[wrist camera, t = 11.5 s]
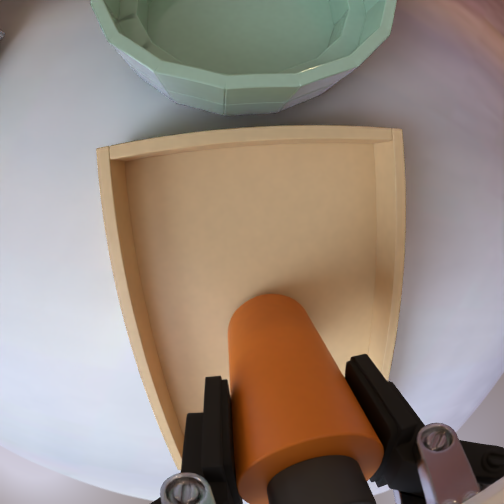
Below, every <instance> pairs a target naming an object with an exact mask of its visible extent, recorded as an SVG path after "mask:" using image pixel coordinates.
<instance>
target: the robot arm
mask: <svg viewBox="0 0 504 504" xmlns="http://www.w3.org/2000/svg"><path fill="white" fill-rule="evenodd" d="M345 380H346V381H347V383H348V385H349V386H350V388H351V390H352V392H353V394H354V395H355V397H356V399H357V401H358V402H359V404H360V406H361V408H362V409H363V411H364V413H365V415H366V416H367V418H368V420H369V422H370V424H371V425H372V427H373V429H374V431H375V432H376V434H377V436H378V438H379V440H380V441H381V443H382V445H383V448H384V456H383V459H382V462H381V464H380V467H379V468H378V470H377V471H376V472H375V473H374V475H373V476H372V477H371V478H370V481H371V482H374V481H375V482H376V484H377V486H378V487H381V486H384V485H387V484H388V486H389V488H390V489H393V492H394V497H395V502H396V504H504V448H503V447H499V446H493V445H486V444H479V443H473V442H467V441H461V440H459V439H458V437H457V434H456V433H455V431H454V430H453V429H452V428H451V427H450V426H448V425H446V424H443V423H431V424H428V425H426V426H425V425H424V424H423V422H422V421H421V420H420V418H419V417H418V416H417V414H416V413H415V412H414V410H413V409H412V408H411V406H410V405H409V404H408V402H407V401H406V400H405V398H404V397H403V396H402V394H401V393H400V392H399V390H398V389H397V388H396V386H395V385H394V384H393V383H392V382H390V381H389V382H387V380H386V379H385V378H384V376H383V375H382V373H381V372H380V371H379V369H378V368H377V367H376V365H375V364H374V363H373V361H372V360H371V359H370V357H369V356H368V355H367V354H361V355H357V356H352V357H351V359H350V361H347V362H346V369H345ZM160 496H161V497H160V498H158V499H157V500H155V501H154V502H152V503H151V504H243V502H242V497H241V496H240V495H239V493H238V489H237V484H236V472H235V458H234V443H233V427H232V410H231V397H230V391H229V385H228V380H227V379H223V380H222V378H221V376H211V377H205V389H204V406H203V412H201V413H188V414H187V417H186V425H185V434H184V444H183V454H182V464H181V473H178V474H175V475H173V476H171V477H169V478H167V479H166V480H165V481H164V482H163V484H162V486H161V489H160Z"/></svg>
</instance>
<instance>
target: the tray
mask: <svg viewBox="0 0 504 504" xmlns="http://www.w3.org/2000/svg"><path fill="white" fill-rule="evenodd" d="M96 151H97V165H98V176H99V186H100V195H101V204H102V211H103V218H104V225H105V232H106V238H107V244H108V250H109V255H110V260H111V266H112V271H113V275H114V280H115V285H116V289H117V294H118V298H119V302H120V306H121V310H122V314H123V318H124V322H125V326H126V330H127V333H128V337H129V340H130V344H131V347H132V351H133V354H134V357H135V360H136V364H137V367H138V370H139V373H140V376H141V379H142V382H143V385H144V388H145V391H146V393H147V396H148V399H149V402H150V404H151V407H152V410H153V412H154V415H155V417H156V420H157V423H158V425H159V428H160V430H161V432H162V435H163V437H164V440H165V442H166V444H167V447H168V449H169V451H170V453H171V456H172V458H173V460H174V462H175V464H176V466H177V469H178V470H181V464H182V454H183V444H184V434H185V425H186V417H187V414H188V413H201V412H203V406H204V389H205V377H211V376H221V378H222V380H223V379H227V380H228V385H229V391H230V375H229V352H228V326H229V322H230V320H231V317H232V316H233V314H234V313H235V311H236V310H237V309H238V308H239V307H240V306H241V305H242V304H244V303H245V302H246V301H248V300H250V299H252V298H254V297H257V296H260V295H265V294H280V295H285V296H288V297H290V298H292V299H294V300H296V301H297V302H298V303H299V304H301V305H302V307H303V308H304V309H305V311H306V312H307V314H308V316H309V318H310V319H311V321H312V323H313V324H314V326H315V328H316V329H317V331H318V333H319V335H320V336H321V338H322V340H323V341H324V343H325V345H326V347H327V348H328V350H329V352H330V353H331V355H332V357H333V359H334V360H335V362H336V364H337V366H338V367H339V369H340V371H341V373H342V374H343V376H344V378H345V369H346V362H347V361H350V359H351V357H352V356H357V355H361V354H367V355H368V356H369V357H370V359H371V360H372V361H373V363H374V364H375V365H376V367H377V368H378V369H379V371H380V372H381V373H382V375H383V376H384V378H385V379H386V380H387V382H388V379H389V374H390V369H391V363H392V358H393V352H394V346H395V340H396V334H397V327H398V320H399V312H400V303H401V294H402V284H403V272H404V256H405V233H406V183H405V160H404V145H403V133H402V129H397V128H385V127H370V126H348V125H279V126H257V127H241V128H229V129H217V130H207V131H198V132H190V133H182V134H175V135H167V136H161V137H154V138H148V139H142V140H137V141H131V142H126V143H121V144H116V145H111V146H105V147H101V148H97V149H96ZM230 397H231V395H230Z"/></svg>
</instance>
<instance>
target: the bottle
mask: <svg viewBox="0 0 504 504" xmlns="http://www.w3.org/2000/svg"><path fill="white" fill-rule="evenodd" d="M228 352H229V375H230V395H231V410H232V427H233V443H234V458H235V472H236V484H237V489H238V493H239V495H240V496H241V497H242V499H244V500H245V501H246V502H248V503H250V504H376V501H375V499H374V497H373V495H372V492H371V490H370V488H369V486H368V483H367V481H368V480H369V479H370V478H371V477H372V476H373V475H374V473H375V472H376V471H377V470H378V468H379V467H380V464H381V462H382V459H383V456H384V448H383V445H382V443H381V441H380V440H379V438H378V436H377V434H376V432H375V431H374V429H373V427H372V425H371V424H370V422H369V420H368V418H367V416H366V415H365V413H364V411H363V409H362V408H361V406H360V404H359V402H358V401H357V399H356V397H355V395H354V394H353V392H352V390H351V388H350V386H349V385H348V383H347V381H346V380H345V378H344V376H343V374H342V373H341V371H340V369H339V367H338V366H337V364H336V362H335V360H334V359H333V357H332V355H331V353H330V352H329V350H328V348H327V347H326V345H325V343H324V341H323V340H322V338H321V336H320V335H319V333H318V331H317V329H316V328H315V326H314V324H313V323H312V321H311V319H310V318H309V316H308V314H307V312H306V311H305V309H304V308H303V307H302V305H301V304H299V303H298V302H297V301H296V300H294V299H292V298H290V297H288V296H285V295H280V294H265V295H260V296H257V297H254V298H252V299H250V300H248V301H246V302H245V303H244V304H242V305H241V306H240V307H239V308H238V309H237V310H236V311H235V313H234V314H233V316H232V317H231V320H230V322H229V326H228Z"/></svg>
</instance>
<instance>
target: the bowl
mask: <svg viewBox="0 0 504 504" xmlns="http://www.w3.org/2000/svg"><path fill="white" fill-rule="evenodd" d="M90 3H91V7H92V9H93V11H94V13H95V15H96V18H97V20H98V22H99V24H100V26H101V28H102V31H103V33H104V35H105V37H106V39H107V41H108V42H109V43H110V44H111V46H112V47H113V48H114V49H115V50H116V51H117V52H118V53H119V55H120V56H121V57H122V58H123V59H124V60H125V61H126V62H127V63H128V65H129V66H130V67H131V68H132V69H133V70H134V71H135V72H136V74H137V75H138V76H139V77H140V78H141V79H143V80H144V81H146V82H147V83H148V84H150V85H151V86H153V87H154V88H155V89H157V90H158V91H160V92H161V93H162V94H164V95H165V96H166V97H168V98H169V99H170V100H172V101H173V102H175V103H177V104H181V105H185V106H189V107H193V108H197V109H201V110H205V111H208V112H212V113H216V114H219V115H225V116H232V115H246V114H265V113H277V112H280V111H283V110H285V109H287V108H290V107H292V106H295V105H297V104H299V103H302V102H304V101H307V100H309V99H312V98H314V97H317V96H320V95H321V94H322V93H324V92H325V91H326V90H328V89H329V88H330V87H332V86H333V85H334V84H336V83H337V82H338V81H340V80H341V79H342V78H344V77H345V76H346V75H348V74H349V73H351V72H352V71H353V70H355V69H356V68H357V67H359V66H360V65H361V64H362V63H363V62H364V61H365V60H366V59H367V58H368V57H369V56H370V55H371V54H372V53H373V52H374V51H375V50H376V49H377V48H378V47H379V46H380V45H381V44H382V43H383V42H384V41H385V40H386V39H387V38H388V37H389V36H390V34H391V29H392V24H393V19H394V14H395V8H396V3H397V0H91V2H90Z"/></svg>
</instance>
